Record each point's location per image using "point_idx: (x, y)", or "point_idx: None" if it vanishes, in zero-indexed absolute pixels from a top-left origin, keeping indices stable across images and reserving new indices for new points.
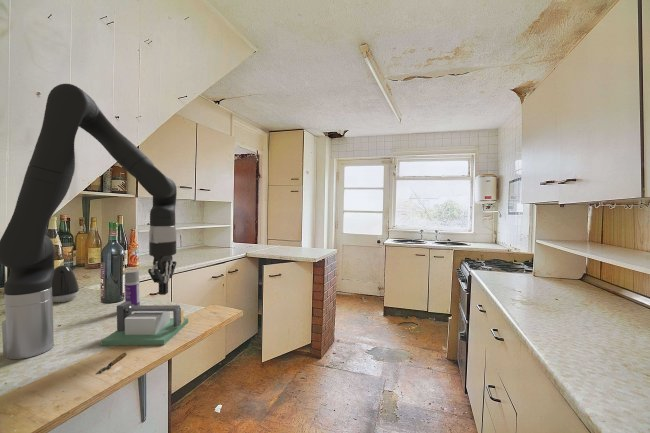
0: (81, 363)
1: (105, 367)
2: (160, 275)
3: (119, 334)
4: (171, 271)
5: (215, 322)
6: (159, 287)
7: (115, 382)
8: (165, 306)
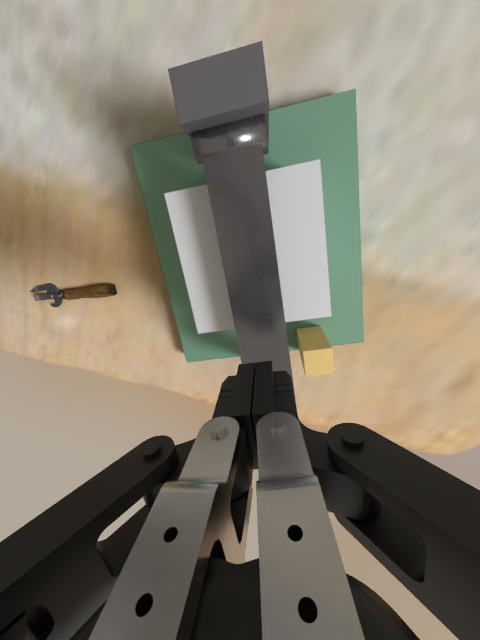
0: (44, 201)
1: (55, 290)
2: (98, 597)
3: (185, 175)
4: (399, 578)
5: (361, 419)
6: (217, 410)
7: (31, 357)
8: (271, 345)
